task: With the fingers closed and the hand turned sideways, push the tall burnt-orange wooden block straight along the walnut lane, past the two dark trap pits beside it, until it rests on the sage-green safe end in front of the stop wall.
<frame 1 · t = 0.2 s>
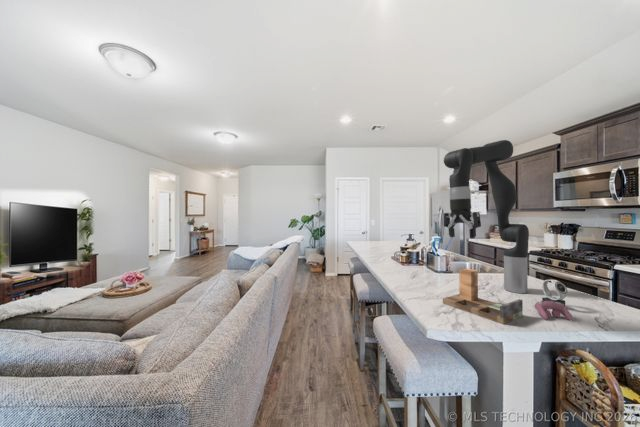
hand: (461, 237, 100), 29 cm above the kitchen island, tool pointing down, fingers open, 8 cm apart
watch: (553, 307, 100), on the kitchen island
pink arched figurine: (552, 318, 90), on the kitchen island
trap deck: (479, 309, 98), on the kitchen island
block: (468, 297, 106), point 2 cm above the kitchen island, touching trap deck
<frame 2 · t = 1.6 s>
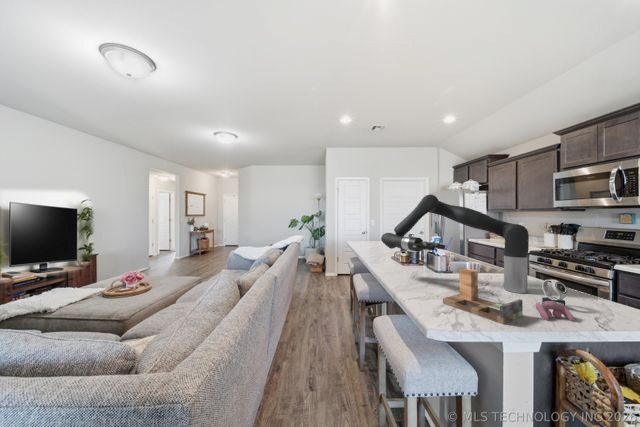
hand: (439, 247, 118), 22 cm above the kitchen island, tool horizontal, fingers open, 7 cm apart
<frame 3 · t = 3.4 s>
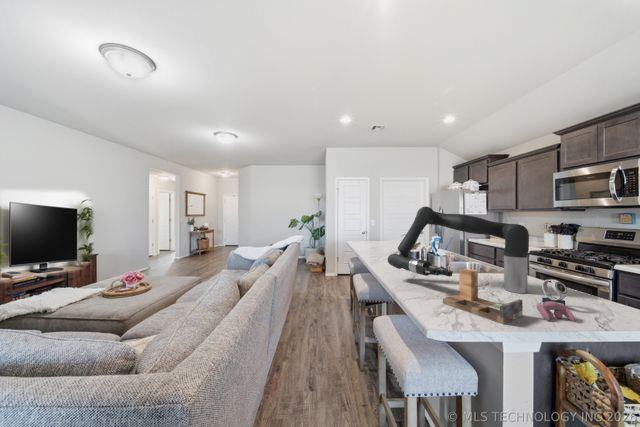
hand: (451, 274, 113), 11 cm above the kitchen island, tool horizontal, fingers closed
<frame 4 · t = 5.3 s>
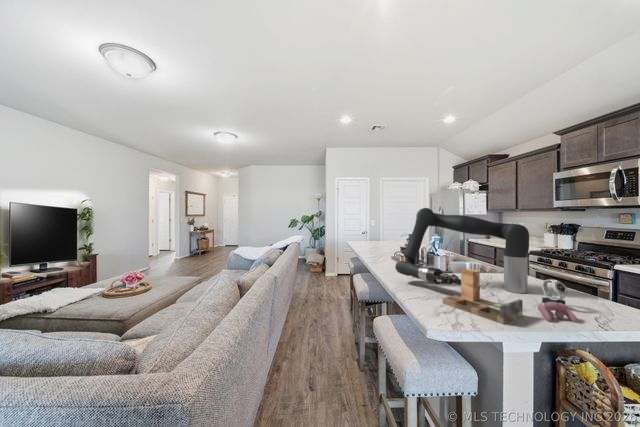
hand: (464, 283, 107), 8 cm above the kitchen island, tool horizontal, fingers closed
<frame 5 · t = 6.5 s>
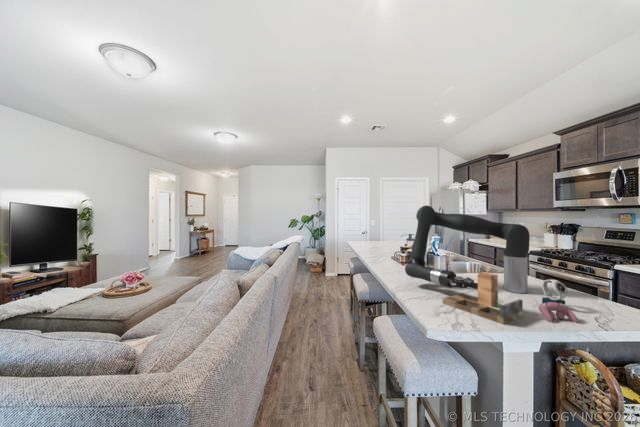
hand: (481, 287, 101), 8 cm above the kitchen island, tool horizontal, fingers closed
block: (487, 303, 99), point 2 cm above the kitchen island, touching gripper
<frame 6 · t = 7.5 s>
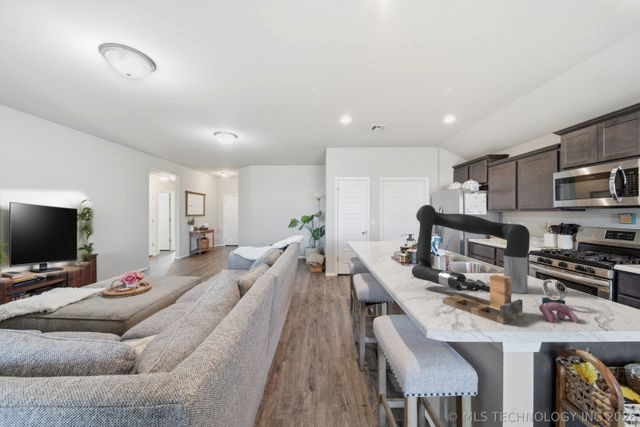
hand: (493, 290, 97), 8 cm above the kitchen island, tool horizontal, fingers closed
block: (500, 307, 95), point 2 cm above the kitchen island, touching gripper
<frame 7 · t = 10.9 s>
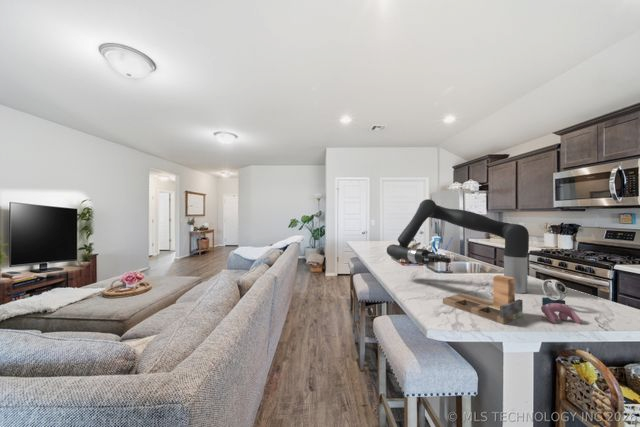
hand: (449, 260, 113), 17 cm above the kitchen island, tool horizontal, fingers closed
block: (503, 308, 94), point 2 cm above the kitchen island, touching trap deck
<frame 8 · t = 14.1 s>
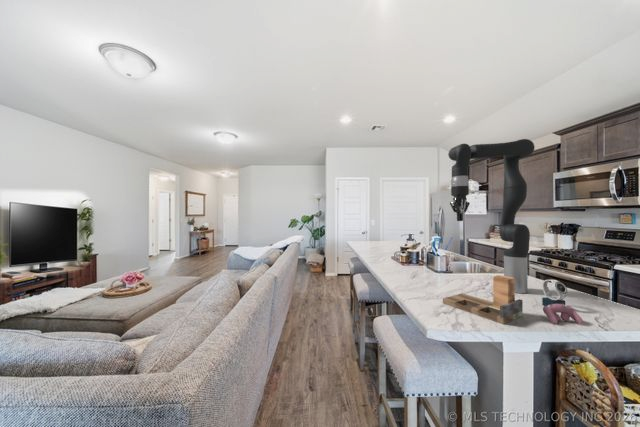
hand: (460, 221, 120), 35 cm above the kitchen island, tool pointing down, fingers closed
at the end: block 0.5 cm from the target spot, point 2.0 cm above the kitchen island; block tilted 0° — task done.
